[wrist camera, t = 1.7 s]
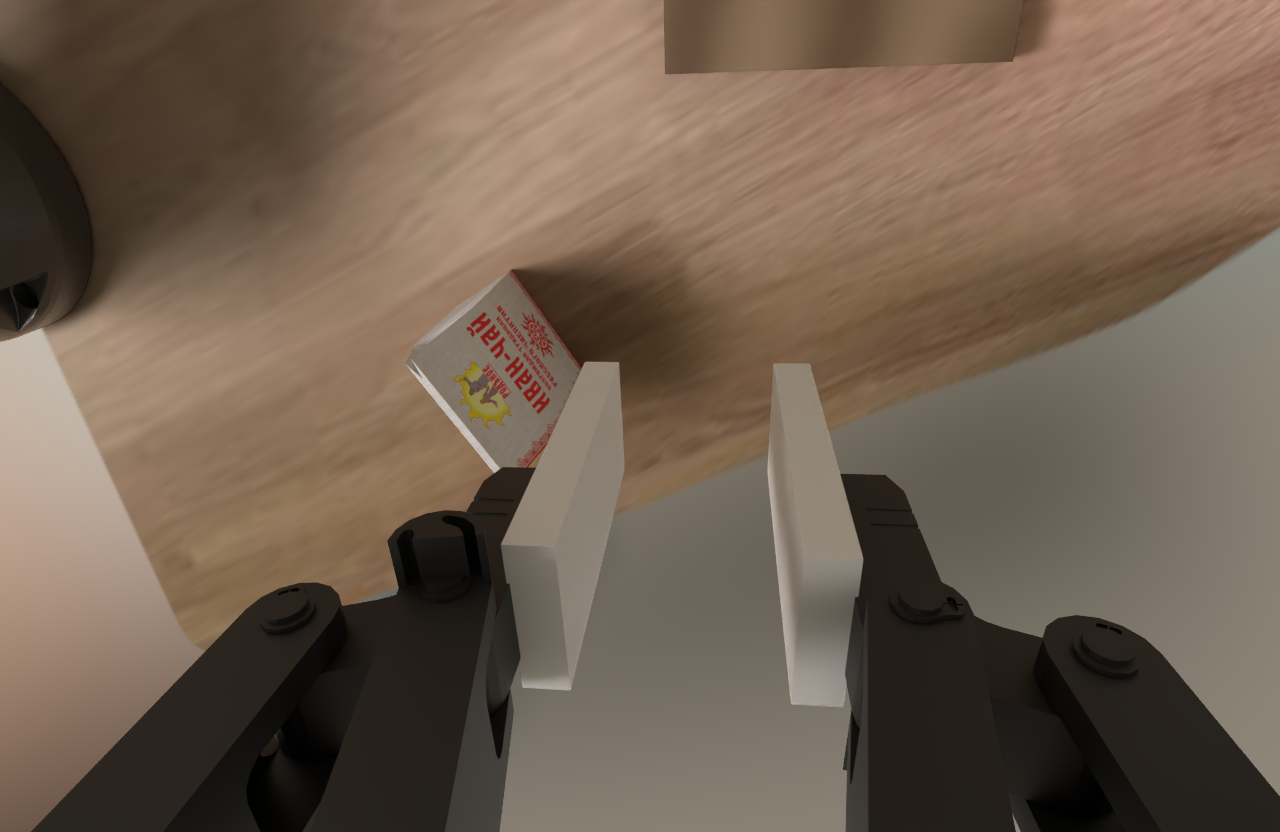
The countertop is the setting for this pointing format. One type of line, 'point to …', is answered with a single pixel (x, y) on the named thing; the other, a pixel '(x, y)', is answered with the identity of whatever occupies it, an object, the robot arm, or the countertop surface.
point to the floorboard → (835, 33)
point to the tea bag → (498, 372)
